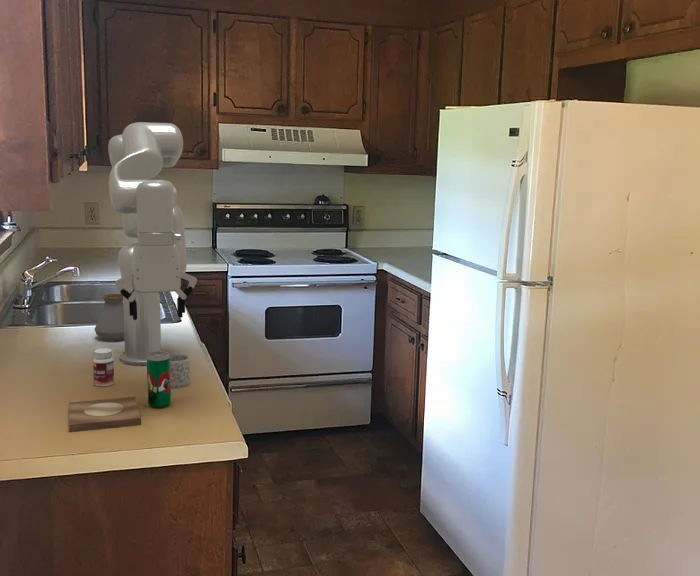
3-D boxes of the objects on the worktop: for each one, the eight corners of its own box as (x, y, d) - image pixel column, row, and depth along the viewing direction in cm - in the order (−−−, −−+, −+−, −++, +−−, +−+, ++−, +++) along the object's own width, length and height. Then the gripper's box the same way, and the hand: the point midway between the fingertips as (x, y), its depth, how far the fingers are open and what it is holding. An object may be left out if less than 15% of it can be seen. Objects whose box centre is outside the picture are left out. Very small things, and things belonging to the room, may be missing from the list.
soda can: (173, 401, 169) (172, 350, 167) (168, 409, 164) (167, 356, 162) (150, 401, 169) (149, 350, 167) (145, 408, 164) (144, 356, 162)
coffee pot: (94, 343, 215) (92, 293, 213) (95, 334, 226) (93, 285, 223) (169, 340, 222) (168, 290, 219) (167, 330, 232) (166, 283, 230)
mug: (193, 380, 185) (192, 354, 183) (185, 388, 178) (185, 362, 177) (153, 378, 185) (153, 352, 184) (144, 387, 179) (144, 360, 177)
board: (69, 408, 163) (68, 401, 162) (135, 402, 167) (135, 395, 167) (69, 432, 150) (69, 424, 149) (141, 424, 155) (140, 416, 154)
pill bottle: (89, 385, 179) (88, 351, 177) (102, 379, 183) (101, 347, 181) (105, 388, 177) (104, 354, 175) (118, 382, 181) (117, 349, 180)
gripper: (193, 237, 166) (194, 312, 169) (112, 238, 160) (115, 316, 163) (199, 240, 159) (200, 318, 162) (114, 242, 153) (117, 323, 156)
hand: (157, 317), depth 162 cm, fingers open, 9 cm apart
